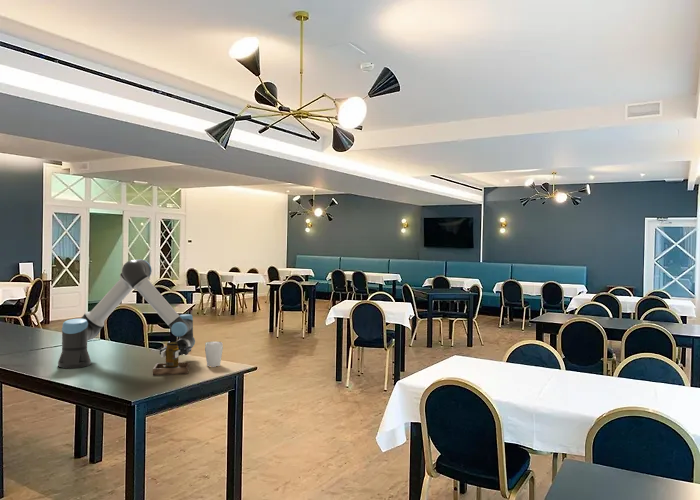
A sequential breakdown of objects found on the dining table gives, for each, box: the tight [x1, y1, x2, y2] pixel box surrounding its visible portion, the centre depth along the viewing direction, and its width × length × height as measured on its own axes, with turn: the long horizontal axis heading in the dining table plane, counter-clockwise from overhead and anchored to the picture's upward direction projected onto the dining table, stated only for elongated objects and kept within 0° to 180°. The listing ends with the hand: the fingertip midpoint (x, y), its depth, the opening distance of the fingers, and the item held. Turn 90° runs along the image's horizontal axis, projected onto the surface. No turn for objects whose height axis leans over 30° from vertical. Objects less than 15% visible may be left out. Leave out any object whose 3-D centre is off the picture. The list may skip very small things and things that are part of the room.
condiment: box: [163, 341, 180, 368], centre depth 274 cm, size 7×8×12 cm
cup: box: [204, 340, 224, 368], centre depth 289 cm, size 9×9×12 cm
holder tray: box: [152, 362, 190, 376], centre depth 274 cm, size 16×13×3 cm
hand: (168, 355), depth 269 cm, fingers closed on condiment, 6 cm apart
